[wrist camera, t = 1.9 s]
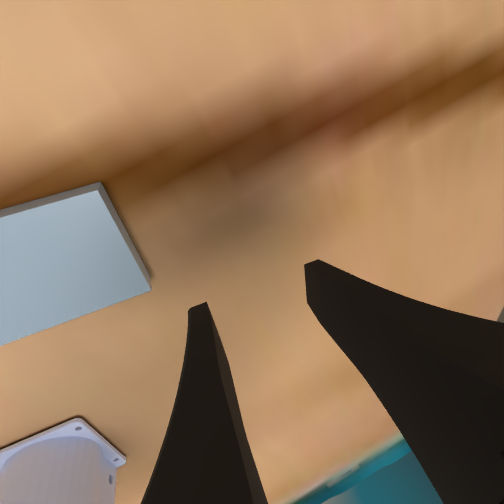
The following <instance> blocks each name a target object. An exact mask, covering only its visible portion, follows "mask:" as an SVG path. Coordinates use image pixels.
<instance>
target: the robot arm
mask: <svg viewBox="0 0 504 504" xmlns="http://www.w3.org/2000/svg"><path fill="white" fill-rule="evenodd" d="M304 268H305V281H306V295H307V303H308V305H309V306H310V308H311V310H312V311H313V313H314V314H315V316H316V317H317V319H318V321H319V322H320V324H321V325H322V326H323V327H324V329H325V330H326V331H327V332H328V334H329V335H330V336H331V337H332V339H333V340H334V341H335V342H336V343H337V345H338V346H339V347H340V348H341V349H342V351H343V352H344V353H345V354H346V356H347V357H348V358H349V359H350V360H351V362H352V363H353V364H354V365H355V366H356V368H357V369H358V370H359V371H360V373H361V374H362V375H363V377H364V378H365V379H366V381H367V382H368V384H369V385H370V386H371V388H372V389H373V391H374V392H375V394H376V395H377V397H378V398H379V400H380V401H381V403H382V404H383V406H384V407H385V409H386V410H387V412H388V413H389V415H390V416H391V418H392V420H393V421H394V423H395V424H396V426H397V427H398V429H399V430H400V432H401V433H402V435H403V437H404V438H405V440H406V441H407V443H408V445H409V446H410V448H411V450H412V451H413V453H414V454H415V456H416V458H417V459H418V461H419V462H420V464H421V466H422V467H423V469H424V471H425V473H426V474H427V476H428V478H429V479H430V481H431V483H432V484H433V486H434V488H435V489H436V491H437V493H438V494H439V496H440V498H441V500H442V501H443V503H444V504H504V323H501V322H496V321H492V320H487V319H483V318H478V317H474V316H470V315H466V314H462V313H458V312H454V311H451V310H447V309H443V308H440V307H436V306H433V305H430V304H427V303H424V302H420V301H417V300H414V299H411V298H408V297H405V296H403V295H400V294H397V293H395V292H392V291H389V290H387V289H384V288H382V287H379V286H377V285H374V284H372V283H370V282H367V281H365V280H363V279H360V278H358V277H356V276H354V275H351V274H349V273H347V272H345V271H343V270H341V269H338V268H336V267H334V266H332V265H330V264H328V263H325V262H323V261H321V260H319V259H318V260H315V261H312V262H310V263H307V264H305V265H304ZM125 463H126V457H125V456H124V455H122V454H121V453H120V452H119V451H118V450H117V449H116V448H114V447H113V446H112V445H111V444H110V443H109V442H108V441H106V440H105V439H104V438H103V437H102V436H101V435H100V434H98V433H97V432H96V431H95V430H94V429H93V428H92V427H90V426H89V425H88V424H87V423H86V422H85V421H84V420H83V419H81V418H74V419H72V420H69V421H67V422H65V423H62V424H60V425H58V426H55V427H53V428H51V429H48V430H46V431H44V432H41V433H39V434H37V435H34V436H32V437H30V438H27V439H25V440H23V441H20V442H18V443H16V444H13V445H11V446H8V447H6V448H4V449H1V450H0V504H115V490H116V471H117V468H118V467H120V466H122V465H124V464H125ZM141 504H268V502H267V499H266V496H265V493H264V490H263V487H262V484H261V480H260V477H259V474H258V471H257V468H256V465H255V462H254V459H253V456H252V453H251V450H250V446H249V443H248V440H247V437H246V433H245V429H244V426H243V421H242V417H241V413H240V409H239V404H238V400H237V396H236V392H235V387H234V383H233V379H232V375H231V371H230V366H229V363H228V360H227V357H226V354H225V351H224V348H223V345H222V342H221V339H220V336H219V334H218V331H217V328H216V326H215V323H214V320H213V318H212V315H211V312H210V310H209V307H208V304H207V302H205V303H202V304H200V305H197V306H194V307H192V308H190V309H189V311H188V332H187V342H186V348H185V355H184V362H183V367H182V372H181V377H180V382H179V386H178V391H177V395H176V399H175V403H174V407H173V411H172V414H171V418H170V421H169V425H168V428H167V431H166V435H165V438H164V441H163V444H162V447H161V450H160V453H159V456H158V459H157V462H156V465H155V468H154V470H153V473H152V476H151V479H150V481H149V484H148V487H147V489H146V492H145V494H144V497H143V499H142V502H141Z"/></svg>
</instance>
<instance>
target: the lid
mask: <svg viewBox="0 0 504 504" xmlns="http://www.w3.org/2000/svg"><path fill="white" fill-rule="evenodd" d="M149 291H151V277H150V275H149V273H148V271H147V270H146V268H145V266H144V264H143V262H142V260H141V258H140V256H139V254H138V252H137V250H136V248H135V247H134V245H133V243H132V241H131V239H130V237H129V235H128V233H127V231H126V229H125V227H124V225H123V223H122V222H121V220H120V218H119V216H118V214H117V212H116V210H115V208H114V206H113V204H112V202H111V200H110V199H109V197H108V195H107V193H106V191H105V189H104V187H103V185H102V183H101V182H98V183H94V184H91V185H87V186H83V187H80V188H76V189H73V190H69V191H66V192H62V193H59V194H55V195H51V196H48V197H44V198H41V199H37V200H34V201H30V202H26V203H23V204H19V205H16V206H12V207H9V208H5V209H2V210H0V346H1V345H4V344H7V343H9V342H12V341H15V340H18V339H20V338H23V337H26V336H29V335H31V334H34V333H37V332H39V331H42V330H45V329H48V328H50V327H53V326H56V325H59V324H61V323H64V322H67V321H69V320H72V319H75V318H78V317H80V316H83V315H86V314H89V313H91V312H94V311H97V310H99V309H102V308H105V307H108V306H110V305H113V304H116V303H119V302H121V301H124V300H127V299H129V298H132V297H135V296H138V295H140V294H143V293H146V292H149Z"/></svg>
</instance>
